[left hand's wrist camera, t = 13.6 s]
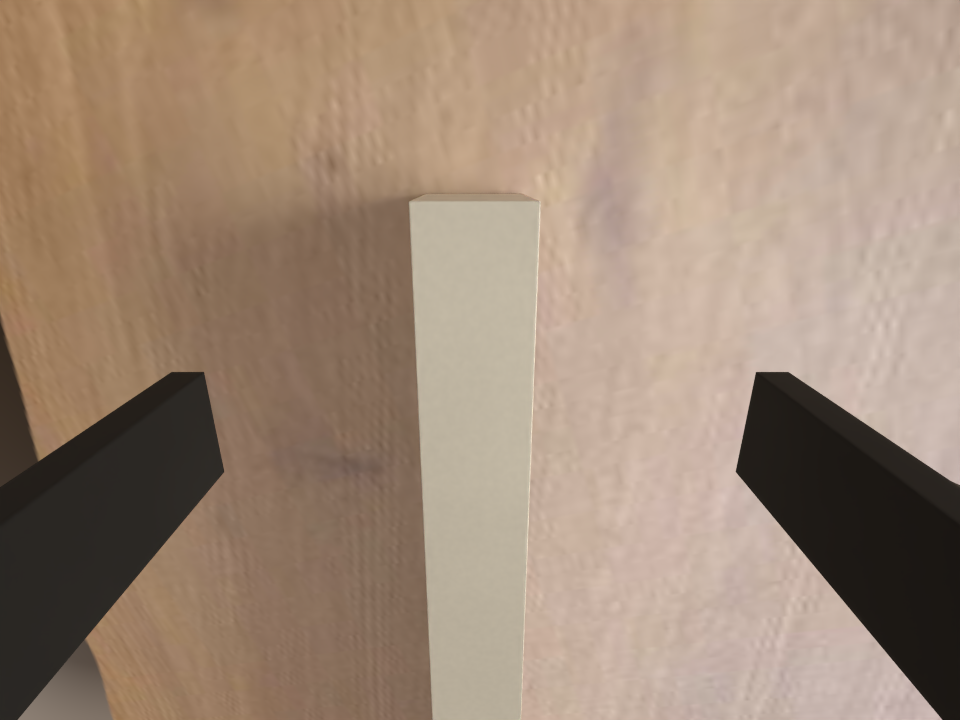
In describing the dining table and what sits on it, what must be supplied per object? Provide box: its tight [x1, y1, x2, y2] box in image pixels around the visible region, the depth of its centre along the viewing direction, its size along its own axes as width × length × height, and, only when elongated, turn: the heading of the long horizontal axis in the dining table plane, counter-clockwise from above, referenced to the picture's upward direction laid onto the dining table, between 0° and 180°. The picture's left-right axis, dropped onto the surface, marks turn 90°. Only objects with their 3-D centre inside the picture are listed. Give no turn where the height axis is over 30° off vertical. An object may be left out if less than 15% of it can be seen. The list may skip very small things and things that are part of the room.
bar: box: [409, 194, 541, 720], centre depth 37 cm, size 68×6×8 cm, turn 0°
